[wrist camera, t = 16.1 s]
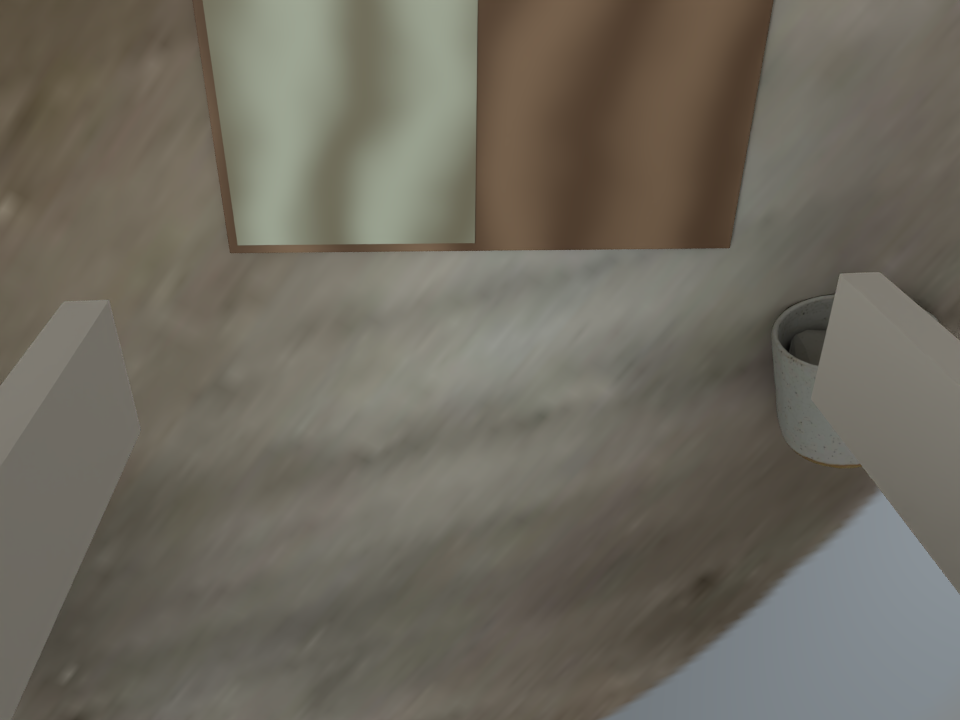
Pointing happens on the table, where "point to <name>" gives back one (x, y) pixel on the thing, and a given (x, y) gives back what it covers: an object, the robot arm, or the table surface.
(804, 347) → the ceramic mug
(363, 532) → the table surface
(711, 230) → the game board
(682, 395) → the table surface
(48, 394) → the robot arm
